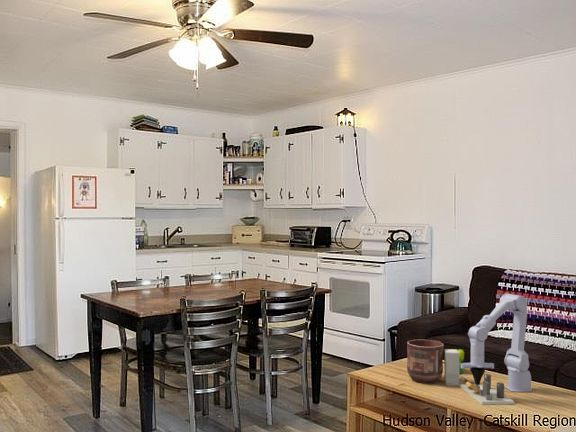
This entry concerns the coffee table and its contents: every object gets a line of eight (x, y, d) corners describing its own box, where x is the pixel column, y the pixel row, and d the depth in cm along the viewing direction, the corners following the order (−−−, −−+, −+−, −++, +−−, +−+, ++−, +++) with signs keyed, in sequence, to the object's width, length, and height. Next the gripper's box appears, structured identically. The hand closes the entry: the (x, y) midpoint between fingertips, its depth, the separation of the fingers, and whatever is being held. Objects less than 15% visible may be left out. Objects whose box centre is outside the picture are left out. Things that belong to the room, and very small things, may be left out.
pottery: (445, 386, 253) (446, 347, 253) (407, 383, 256) (407, 345, 256) (441, 376, 270) (441, 340, 271) (405, 374, 273) (406, 338, 274)
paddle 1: (473, 384, 249) (461, 375, 249) (476, 386, 245) (465, 378, 245) (471, 386, 249) (460, 378, 249) (475, 389, 245) (463, 381, 245)
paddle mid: (479, 388, 242) (467, 381, 242) (483, 391, 238) (471, 383, 238) (477, 391, 242) (465, 383, 242) (481, 394, 238) (469, 386, 238)
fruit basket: (443, 368, 285) (443, 346, 285) (459, 367, 286) (459, 346, 286) (451, 374, 273) (452, 352, 273) (468, 374, 274) (468, 351, 274)
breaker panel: (489, 386, 253) (489, 371, 253) (514, 404, 229) (514, 387, 229) (460, 387, 252) (460, 371, 252) (482, 404, 228) (482, 387, 228)
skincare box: (459, 386, 253) (460, 353, 253) (445, 385, 254) (445, 352, 255) (457, 381, 261) (458, 349, 261) (443, 380, 263) (443, 348, 263)
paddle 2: (485, 395, 235) (485, 380, 236) (489, 398, 231) (490, 383, 231) (482, 395, 235) (482, 380, 235) (486, 398, 231) (486, 383, 231)
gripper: (465, 356, 236) (464, 387, 236) (497, 356, 237) (497, 387, 237) (458, 352, 243) (458, 382, 243) (490, 352, 244) (490, 382, 244)
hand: (477, 384), depth 240 cm, fingers closed
